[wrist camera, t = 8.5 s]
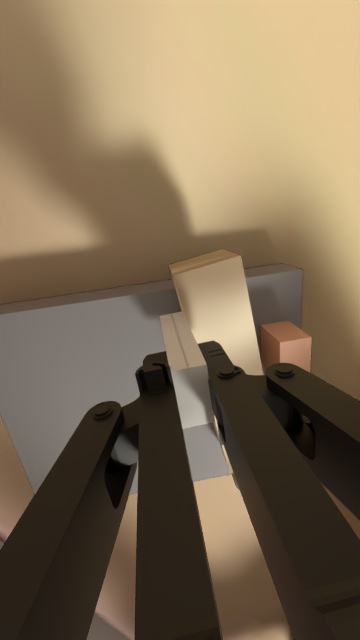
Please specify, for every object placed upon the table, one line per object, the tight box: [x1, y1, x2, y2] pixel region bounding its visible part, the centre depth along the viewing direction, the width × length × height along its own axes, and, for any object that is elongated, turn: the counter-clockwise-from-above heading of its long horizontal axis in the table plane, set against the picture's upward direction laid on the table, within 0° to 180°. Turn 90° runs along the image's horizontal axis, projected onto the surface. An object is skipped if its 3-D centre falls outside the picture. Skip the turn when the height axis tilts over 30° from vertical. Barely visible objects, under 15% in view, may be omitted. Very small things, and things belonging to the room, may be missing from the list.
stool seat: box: [0, 263, 312, 494], centre depth 21 cm, size 17×22×6 cm
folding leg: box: [168, 249, 263, 490], centre depth 18 cm, size 17×4×4 cm, turn 15°
